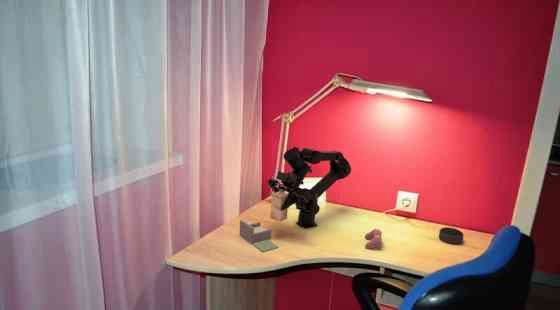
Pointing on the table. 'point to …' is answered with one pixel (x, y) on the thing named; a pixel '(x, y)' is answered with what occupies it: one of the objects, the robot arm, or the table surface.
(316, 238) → the table surface
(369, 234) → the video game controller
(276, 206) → the birch block
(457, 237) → the smart speaker
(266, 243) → the mat
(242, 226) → the tray
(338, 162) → the robot arm
